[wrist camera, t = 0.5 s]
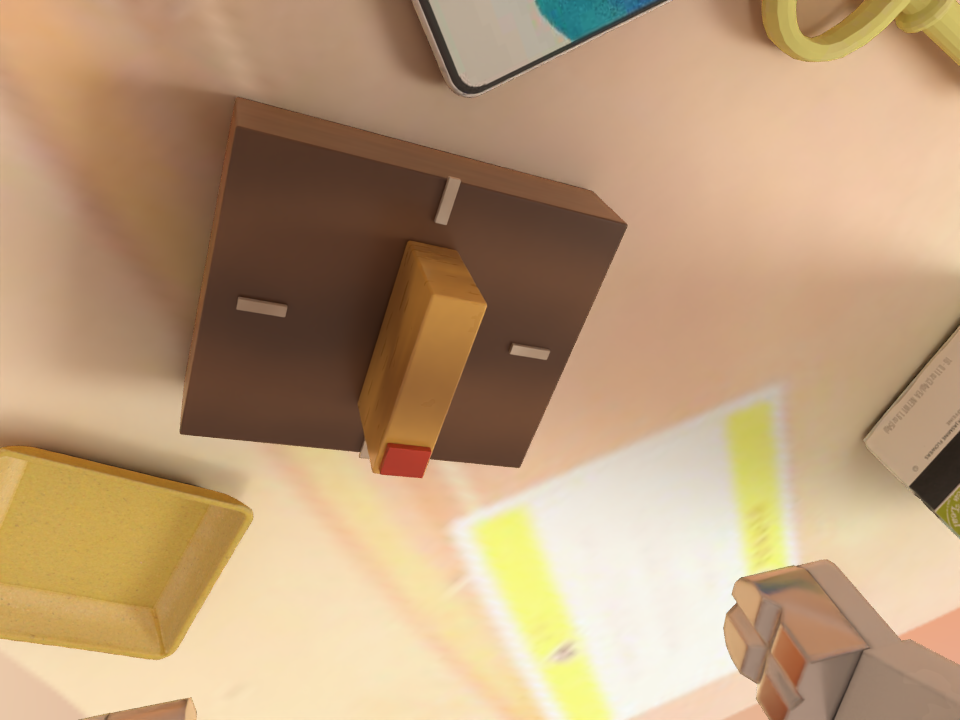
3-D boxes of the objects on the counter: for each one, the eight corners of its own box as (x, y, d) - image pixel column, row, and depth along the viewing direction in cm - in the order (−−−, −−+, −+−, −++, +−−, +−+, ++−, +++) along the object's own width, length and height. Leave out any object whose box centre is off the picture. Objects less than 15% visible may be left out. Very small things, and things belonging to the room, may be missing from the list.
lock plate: (236, 92, 22) (236, 123, 19) (594, 188, 27) (632, 223, 24) (183, 384, 27) (178, 440, 24) (497, 423, 31) (520, 473, 29)
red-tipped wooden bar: (407, 238, 22) (434, 298, 19) (458, 249, 23) (491, 309, 20) (356, 404, 25) (373, 479, 22) (402, 410, 26) (425, 484, 23)
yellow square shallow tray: (172, 622, 32) (169, 665, 31) (-64, 584, 28) (-83, 630, 27) (257, 473, 29) (259, 511, 28) (7, 406, 25) (-10, 446, 24)
